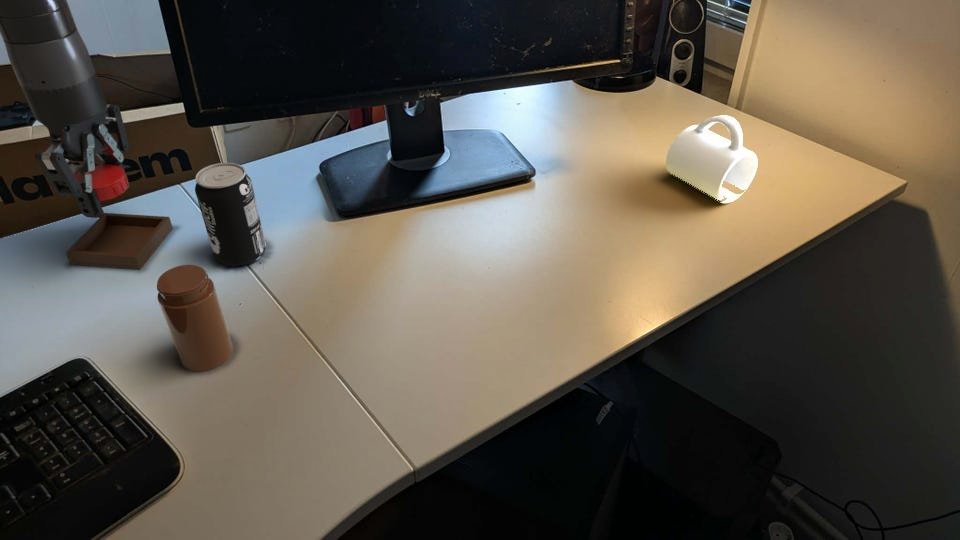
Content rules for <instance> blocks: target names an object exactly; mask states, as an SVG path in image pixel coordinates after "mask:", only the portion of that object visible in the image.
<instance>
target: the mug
mask: <svg viewBox="0 0 960 540" xmlns="http://www.w3.org/2000/svg"><path fill="white" fill-rule="evenodd" d="M715 124H721V125H723V126H724V127H725V128H726V129H727V131H728V134H729V138H730V139H728V138H725V137H723V136H721V135H719V134H717V133H714V132H713V131H711V130H709V128H710V127H712V126H713V125H715ZM665 168H666V170H667V172H668V173H669V172H670V173H669V174H670V175H672V174H673V175H672V176H674V175H675V176H674V177H675V178H677V177H678V178H677V179H679V178H680V179H679V180H681V179H682V180H681V181H683V182H684V181H685V182H684V183H686V182H687V183H686V184H688V183H689V184H688V186H689V185H690V184H691V185H692V186H691V185H690V186H691V187H693V186H694V187H693V188H695V187H696V188H695V189H696V190H698V189H699V190H698V191H700V190H701V191H700V192H701V193H703V194H705V193H707V194H708V195H707V194H706V195H707V196H708V197H710V198H712V197H714V198H715V199H714V198H713V199H714V200H716V199H717V200H716V201H717V202H719V201H718V200H722V199H724V197H725V198H727V199H726V200H725V201H723V202H720V203H721V204H730V203H732V202H734V201H736V200H737V199H738V198H740V197H741V196H742V195H743V193H741V194H735V193H733V192H731V191H729V190H728V189H726V188H724V187H722V184H723V181H726V182H728V183H730V184H732V185H735V187H738V188H739V189H741V190H745V189H746V190H747V189H748V188H749V186H750V184H751V183H752V181H753V179H754V178H755V175H756V172H757V170H758V169H757V168H758V157H757V154H756V153H755V152H753V151H751V150H750V149H747V148H745V147H744V146H743V131H742V128H741V125H740V123H739V122H738V121H737V120H736V119H735V118H734V117H732V116H730V115H727V114H726V115H724V114H723V115H722V114H721V115H715V116H712V117H709V118H707V119H705V120H703V121H702V122H700V123H698V125H697V124H694V125H690V126H687V127H685V128H684V129H683V130H682V131H680V133H678V134H677V135H676V137H675V138H674V139H673V141H672V142H671V144H670V146H669V148H668V151H667V154H666V157H665ZM697 188H698V189H697ZM746 190H745V191H746ZM702 191H703V192H702ZM704 192H705V193H704ZM709 195H710V196H709ZM711 196H712V197H711ZM723 196H724V197H723Z"/></svg>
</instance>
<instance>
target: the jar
mask: <svg viewBox="0 0 960 540" xmlns="http://www.w3.org/2000/svg"><path fill="white" fill-rule="evenodd" d="M156 290H157V292H158V293H157V301H158V304H159V306H160V307H159V308H160V310H161V312H162V314H163V318H164V320H165V322H166V325H167V327H168V330H169V333H170V335H171V338H172V341H173V343H174V346H175V349H176V352H177V354H178V357H179V359H180V362H181V364H182V366H183V367H184V368H185V369H187V370H188V371H192V372H207V371H211V370H214V369H216V368H219V367H221V366H222V365H224V364H225V363H226V362H228V360H229V359H230V358H231V356H232V355H233V352H234V351H233V350H234V346H233V342H232V339H231V335H230V332H229V330H228V326H227V323H226V319H225V317H224V313H223V309H222V306H221V303H220V300H219V297H218V293H217V290H216V287H215V284H214V281H213V280H212V279H211V278H210V277H209V275H208V273H207V272H206V270H205V269H204V268H203V267H201V266H199V265H196V264H182V265H177V266H175V267H171V268H170V269H167V270H166V271H164V272H163V273H162V274H161V275H160V276H159V277H158V279H157V282H156Z"/></svg>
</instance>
